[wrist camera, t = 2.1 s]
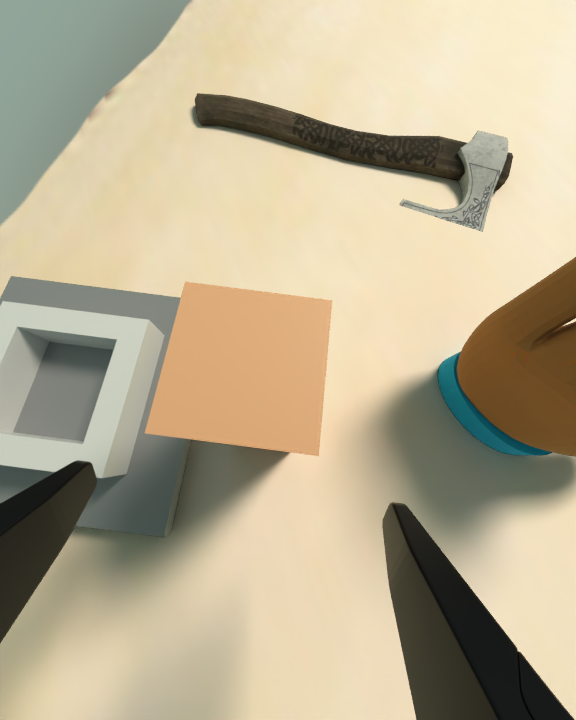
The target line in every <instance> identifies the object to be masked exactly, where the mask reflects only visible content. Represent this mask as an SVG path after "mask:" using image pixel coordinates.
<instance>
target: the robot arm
mask: <svg viewBox="0 0 576 720" xmlns="http://www.w3.org/2000/svg"><path fill="white" fill-rule="evenodd" d="M96 485H97V478H96V474H95V471H94V468H93V465H92V463H91V462H88V461H80V460H77V461H74V462H72V463H70V464H68V465H67V466H65V467H63V468H61V469H60V470H58V471H56V472H54V473H53V474H51V475H49V476H47V477H46V478H44V479H42V480H40V481H38V482H37V483H35V484H33V485H31V486H30V487H28V488H26V489H24V490H23V491H21V492H19V493H17V494H16V495H14V496H12V497H10V498H9V499H7V500H5V501H3V502H2V503H0V643H1V641H2V640H3V638H4V637H5V635H6V634H7V632H8V631H9V629H10V628H11V626H12V625H13V623H14V622H15V620H16V619H17V617H18V615H19V614H20V612H21V611H22V609H23V608H24V606H25V605H26V603H27V602H28V600H29V599H30V597H31V596H32V594H33V592H34V591H35V589H36V588H37V586H38V585H39V583H40V582H41V580H42V579H43V577H44V576H45V574H46V573H47V571H48V570H49V568H50V566H51V565H52V563H53V562H54V560H55V559H56V557H57V556H58V554H59V553H60V551H61V550H62V548H63V546H64V545H65V543H66V542H67V540H68V538H69V536H70V535H71V533H72V531H73V529H74V527H75V525H76V524H77V522H78V520H79V518H80V516H81V514H82V512H83V510H84V509H85V507H86V505H87V503H88V501H89V499H90V497H91V495H92V494H93V492H94V490H95V488H96ZM383 535H384V545H385V554H386V563H387V572H388V580H389V587H390V593H391V598H392V603H393V608H394V612H395V617H396V622H397V627H398V632H399V637H400V641H401V646H402V651H403V656H404V661H405V666H406V671H407V675H408V680H409V685H410V690H411V695H412V700H413V705H414V709H415V714H416V719H417V720H574V718H573V717H572V716H571V715H570V714H569V712H568V711H567V710H566V709H565V708H564V706H563V705H562V704H561V703H560V701H559V700H558V699H557V698H556V696H555V695H554V694H553V693H552V691H551V690H550V689H549V688H548V686H547V685H546V684H545V683H544V681H543V680H542V679H541V678H540V676H539V675H538V674H537V673H536V671H535V670H534V669H533V668H532V666H531V665H530V664H529V662H528V661H527V660H526V659H525V657H524V656H523V655H522V653H521V652H518V650H517V647H516V646H515V645H514V643H513V642H512V641H511V639H510V638H509V637H508V636H507V634H506V633H505V632H504V630H503V629H502V628H501V627H500V625H499V624H498V623H497V621H496V620H495V619H494V618H493V616H492V615H491V614H490V612H489V611H488V610H487V609H486V607H485V606H484V605H483V603H482V602H481V601H480V600H479V598H478V597H477V596H476V594H475V593H474V592H473V591H472V589H471V588H470V587H469V585H468V584H467V583H466V582H465V580H464V579H463V578H462V576H461V575H460V574H459V573H458V571H457V570H456V569H455V567H454V566H453V565H452V564H451V562H450V561H449V560H448V558H447V557H446V556H445V555H444V553H443V552H442V551H441V549H440V548H439V547H438V546H437V544H436V543H435V542H434V540H433V539H432V538H431V537H430V535H429V534H428V533H427V531H426V530H425V529H424V528H423V526H422V525H421V524H420V522H419V521H418V520H417V519H416V517H415V516H414V515H413V513H412V512H411V511H410V510H409V508H408V507H407V506H406V505H405V504H401V503H394V502H392V503H390V505H389V507H388V509H387V511H386V513H385V516H384V518H383Z"/></svg>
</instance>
